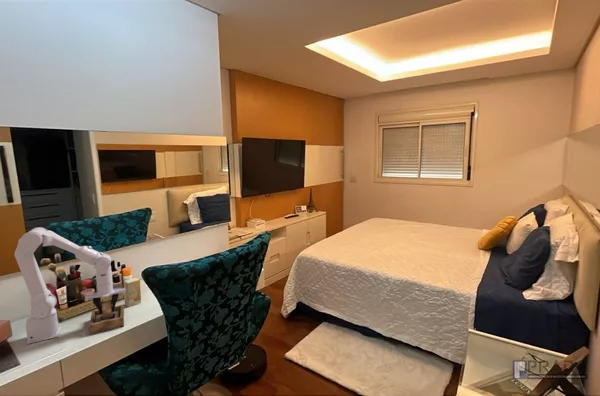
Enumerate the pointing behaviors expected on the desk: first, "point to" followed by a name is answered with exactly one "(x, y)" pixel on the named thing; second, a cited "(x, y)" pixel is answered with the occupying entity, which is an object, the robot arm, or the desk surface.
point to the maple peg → (106, 308)
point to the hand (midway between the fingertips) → (107, 312)
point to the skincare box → (132, 292)
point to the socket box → (106, 320)
